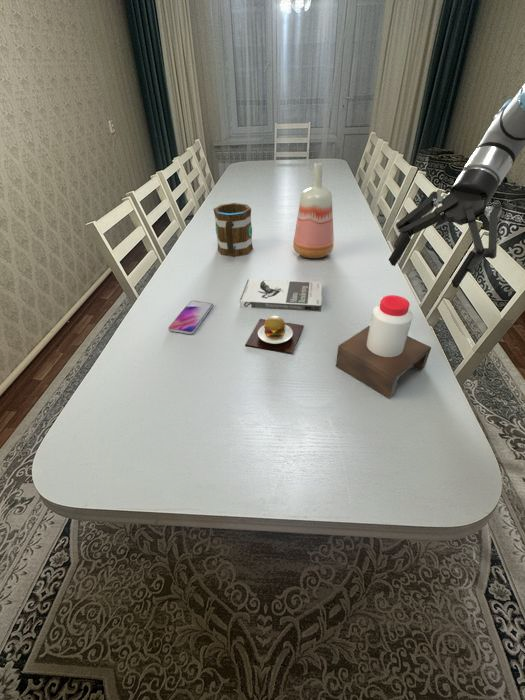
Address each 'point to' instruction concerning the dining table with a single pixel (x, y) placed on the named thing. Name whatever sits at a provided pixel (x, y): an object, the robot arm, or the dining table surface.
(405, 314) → the pill bottle
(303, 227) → the vase
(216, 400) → the dining table surface
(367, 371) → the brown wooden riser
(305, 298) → the book
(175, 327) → the smartphone
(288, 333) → the hamburger
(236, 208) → the mug
